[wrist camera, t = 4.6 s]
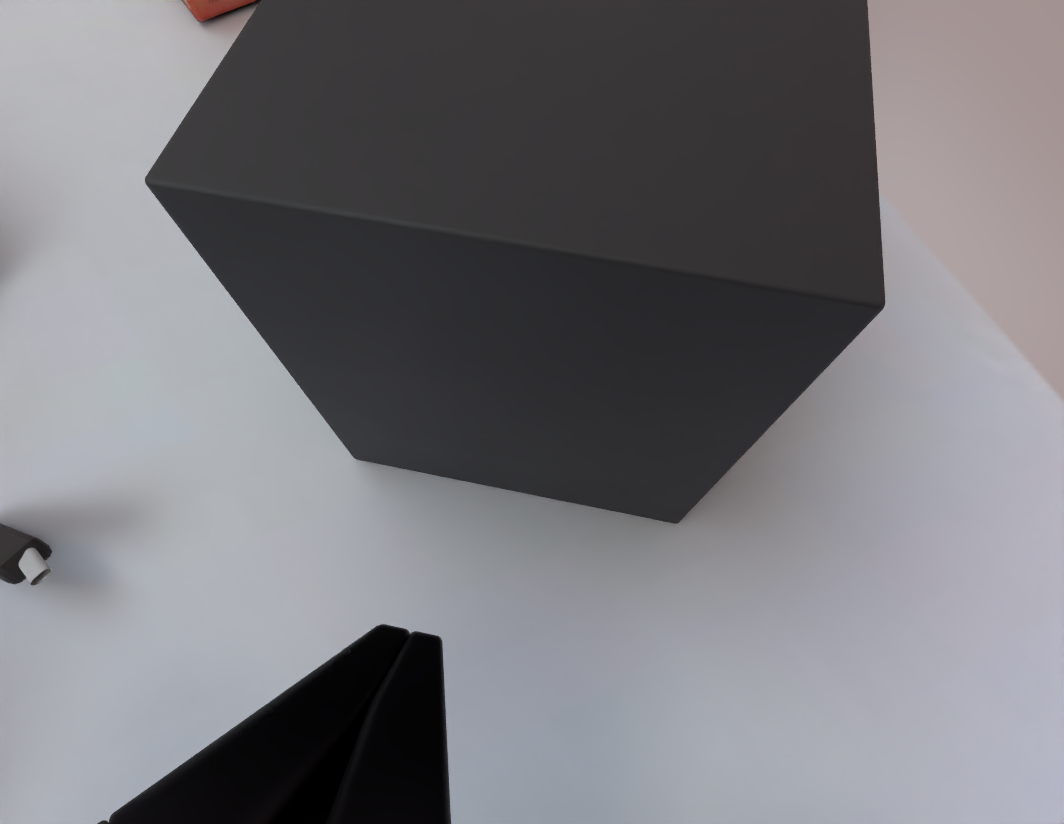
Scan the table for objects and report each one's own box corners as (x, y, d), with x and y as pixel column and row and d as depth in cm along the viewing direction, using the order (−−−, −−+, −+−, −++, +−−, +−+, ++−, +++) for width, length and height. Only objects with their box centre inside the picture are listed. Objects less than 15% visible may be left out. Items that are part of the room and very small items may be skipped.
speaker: (696, 528, 17) (933, 314, 7) (353, 459, 18) (139, 180, 8) (729, 146, 24) (878, -241, 14) (477, 108, 25) (445, -284, 15)
